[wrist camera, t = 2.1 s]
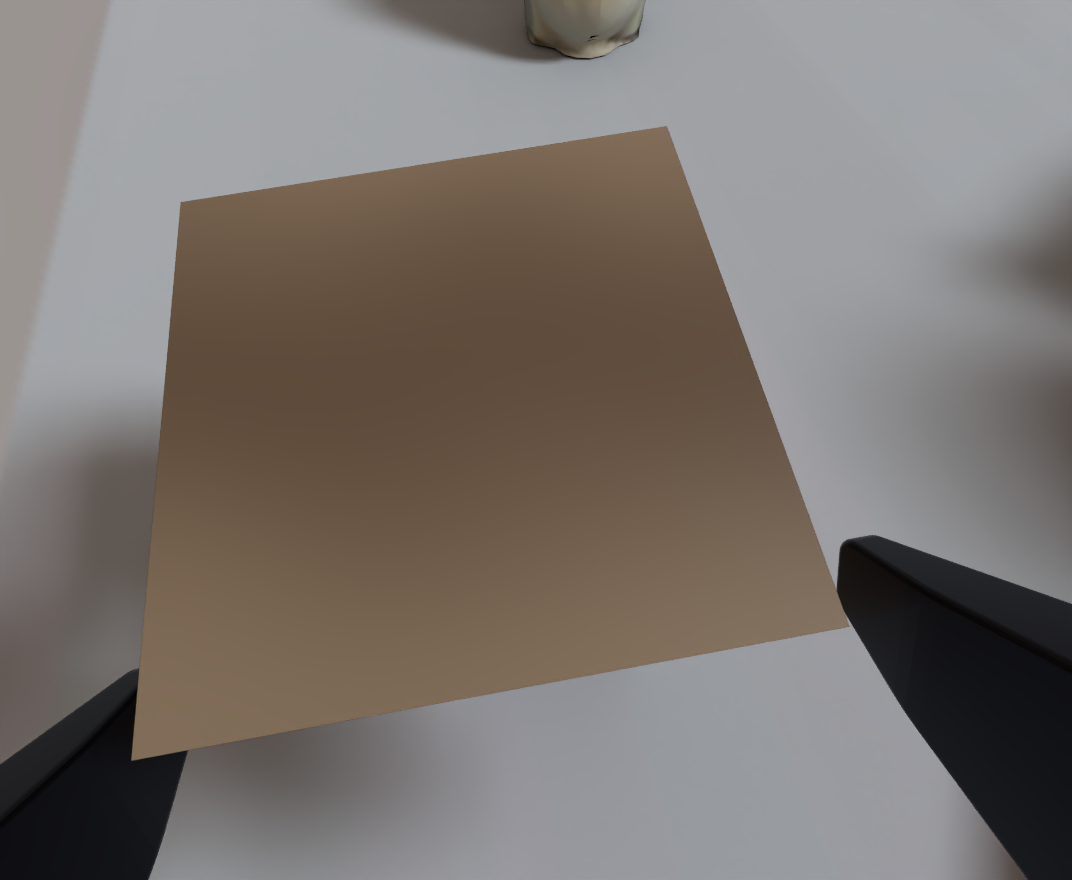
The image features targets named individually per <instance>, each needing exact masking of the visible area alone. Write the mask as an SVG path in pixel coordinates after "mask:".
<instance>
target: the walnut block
mask: <svg viewBox="0 0 1072 880" xmlns="http://www.w3.org/2000/svg"><path fill="white" fill-rule="evenodd" d="M846 627H849V624H848V621H847V618H846V616H845V613H844V610H843V607H842V605H841V602H840V599H839V596H838V594H837V591H836V588H835V585H834V583H833V580H832V577H831V574H830V572H829V569H828V566H827V564H826V561H825V558H824V555H823V553H822V550H821V547H820V544H819V542H818V539H817V536H816V533H815V531H814V528H813V525H812V522H811V520H810V517H809V514H808V511H807V509H806V506H805V503H804V501H803V498H802V495H801V492H800V490H799V487H798V484H797V481H796V479H795V476H794V473H793V470H792V468H791V465H790V462H789V459H788V457H787V454H786V451H785V448H784V446H783V443H782V440H781V438H780V435H779V432H778V429H777V427H776V424H775V421H774V418H773V416H772V413H771V410H770V407H769V405H768V402H767V399H766V396H765V394H764V391H763V388H762V385H761V383H760V380H759V377H758V375H757V372H756V369H755V366H754V364H753V361H752V358H751V355H750V353H749V350H748V347H747V344H746V342H745V339H744V336H743V333H742V331H741V328H740V325H739V322H738V320H737V317H736V314H735V311H734V309H733V306H732V303H731V301H730V298H729V295H728V292H727V290H726V287H725V284H724V281H723V279H722V276H721V273H720V270H719V268H718V265H717V262H716V259H715V257H714V254H713V251H712V248H711V246H710V243H709V240H708V238H707V235H706V232H705V229H704V227H703V224H702V221H701V218H700V216H699V213H698V210H697V207H696V205H695V202H694V199H693V196H692V194H691V191H690V188H689V185H688V183H687V180H686V177H685V175H684V172H683V169H682V166H681V164H680V161H679V158H678V155H677V153H676V150H675V147H674V144H673V142H672V139H671V136H670V133H669V131H668V128H667V126H665V127H659V128H652V129H646V130H640V131H633V132H627V133H620V134H614V135H608V136H601V137H595V138H588V139H582V140H576V141H569V142H563V143H556V144H550V145H544V146H537V147H531V148H525V149H518V150H512V151H505V152H499V153H493V154H486V155H480V156H473V157H467V158H461V159H454V160H448V161H441V162H435V163H429V164H422V165H416V166H410V167H403V168H397V169H390V170H384V171H378V172H371V173H365V174H358V175H352V176H346V177H339V178H333V179H327V180H320V181H314V182H307V183H301V184H295V185H288V186H282V187H275V188H269V189H263V190H256V191H250V192H243V193H237V194H231V195H224V196H218V197H212V198H205V199H199V200H192V201H186V202H181V205H180V217H179V228H178V239H177V250H176V262H175V273H174V284H173V296H172V307H171V318H170V330H169V341H168V352H167V364H166V375H165V386H164V397H163V409H162V420H161V431H160V443H159V454H158V465H157V477H156V488H155V499H154V511H153V522H152V533H151V544H150V556H149V567H148V578H147V590H146V601H145V612H144V624H143V635H142V646H141V657H140V669H139V680H138V691H137V703H136V714H135V725H134V737H133V748H132V759H131V761H133V760H138V759H143V758H149V757H154V756H159V755H165V754H170V753H175V752H181V751H186V750H191V749H197V748H202V747H208V746H213V745H218V744H224V743H229V742H234V741H240V740H245V739H250V738H256V737H261V736H267V735H272V734H277V733H283V732H288V731H293V730H299V729H304V728H309V727H315V726H320V725H326V724H331V723H336V722H342V721H347V720H352V719H358V718H363V717H368V716H374V715H379V714H384V713H390V712H395V711H401V710H406V709H411V708H417V707H422V706H427V705H433V704H438V703H443V702H449V701H454V700H460V699H465V698H470V697H476V696H481V695H486V694H492V693H497V692H502V691H508V690H513V689H518V688H524V687H529V686H535V685H540V684H545V683H551V682H556V681H561V680H567V679H572V678H577V677H583V676H588V675H594V674H599V673H604V672H610V671H615V670H620V669H626V668H631V667H636V666H642V665H647V664H653V663H658V662H663V661H669V660H674V659H679V658H685V657H690V656H695V655H701V654H706V653H712V652H717V651H722V650H728V649H733V648H738V647H744V646H749V645H754V644H760V643H765V642H770V641H776V640H781V639H787V638H792V637H797V636H803V635H808V634H813V633H819V632H824V631H829V630H835V629H840V628H846Z"/></svg>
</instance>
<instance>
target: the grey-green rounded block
mask: <svg viewBox="0 0 1072 880" xmlns="http://www.w3.org/2000/svg"><path fill="white" fill-rule="evenodd" d="M645 1H646V0H524V4H525V20H526V28H527V35H528V37H529V39H530V41H531V42H532V43H534V44H537V45H541V46H548V47H553V48H555V49H557V50H558V51H560V52H562V53H563V54H565V55H569V56H573V57H577V58H593V57H598V56H602V55H606V54H608V53H609V52H611V51H612V50H613V49H615V48H616V47H618V46H620V45H624V44H627V43H629V42H632V41H634V40H635V39H636V38H638V36H639V34H638V33H639V28H640V25H641V22H642V18H643V10H644V5H645ZM591 36H597V37H593V38H590V37H591ZM589 38H590V39H589ZM592 39H595V40H592ZM588 40H590V41H588ZM586 41H587V42H586Z"/></svg>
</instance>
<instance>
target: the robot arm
mask: <svg viewBox="0 0 1072 880" xmlns="http://www.w3.org/2000/svg"><path fill="white" fill-rule="evenodd" d="M837 594H838V596H839V599H840V602H841V605H842V607H843V610H844V612H845V614H846V616H847V617H848V619H849V621H850V622H851V624H852V626H853V627H854V629H855V631H856V632H857V634H858V636H859V637H860V639H861V641H862V642H863V644H864V646H865V647H866V649H867V651H868V652H869V654H870V656H871V657H872V659H873V661H874V663H875V664H876V666H877V668H878V669H879V671H880V673H881V674H882V676H883V678H884V679H885V681H886V683H887V684H888V686H889V688H890V689H891V691H892V693H893V694H894V696H895V697H896V699H897V701H898V702H899V704H900V705H901V707H902V708H903V710H904V711H905V713H906V714H907V716H908V717H909V719H910V720H911V721H912V723H913V724H914V726H915V727H916V728H917V730H918V731H919V733H920V734H921V735H922V737H923V738H924V739H925V741H926V742H927V743H928V745H929V746H930V748H931V749H932V750H933V752H934V753H935V754H936V756H937V757H938V758H939V760H940V761H941V762H942V764H943V765H944V767H945V768H946V769H947V771H948V772H949V773H950V775H951V776H952V777H953V779H954V780H955V781H956V783H957V784H958V786H959V787H960V788H961V790H962V791H963V792H964V794H965V795H966V796H967V798H968V799H969V800H970V802H971V803H972V805H973V806H974V807H975V809H976V810H977V811H978V813H979V814H980V815H981V817H982V818H983V820H984V821H985V822H986V824H987V825H988V826H989V828H990V829H991V830H992V832H993V833H994V834H995V836H996V837H997V839H998V840H999V841H1000V843H1001V844H1002V845H1003V847H1004V848H1005V849H1006V851H1007V852H1008V853H1009V855H1010V856H1011V858H1012V859H1013V860H1014V862H1015V863H1016V864H1017V866H1018V867H1019V868H1020V870H1021V871H1022V872H1023V874H1024V875H1025V877H1026V878H1027V879H1028V880H1072V604H1071V603H1068V602H1065V601H1062V600H1059V599H1056V598H1053V597H1051V596H1048V595H1045V594H1042V593H1039V592H1036V591H1033V590H1031V589H1028V588H1025V587H1022V586H1019V585H1016V584H1014V583H1011V582H1008V581H1005V580H1002V579H999V578H996V577H994V576H991V575H988V574H985V573H982V572H979V571H976V570H974V569H971V568H968V567H965V566H962V565H959V564H957V563H954V562H951V561H948V560H945V559H942V558H939V557H937V556H934V555H931V554H928V553H925V552H922V551H920V550H917V549H914V548H911V547H908V546H905V545H902V544H900V543H897V542H894V541H891V540H888V539H885V538H883V537H880V536H876V535H869V536H863V537H858V538H853V539H848V540H846V541H844V542H843V543H842V545H841V547H840V553H839V565H838V578H837ZM139 669H140V668H138V669H134V670H132V671H130V672H128V673H126V674H125V675H124V676H122V677H121V678H119V679H118V680H117V681H115V682H114V683H112V684H111V685H110V686H108V687H107V688H106V689H104V690H103V691H101V692H100V693H99V694H97V695H96V696H94V697H93V698H92V699H90V700H89V701H88V702H86V703H85V704H83V705H82V706H81V707H79V708H78V709H76V710H75V711H74V712H72V713H71V714H69V715H68V716H67V717H65V718H64V719H63V720H61V721H60V722H58V723H57V724H56V725H54V726H53V727H51V728H50V729H49V730H47V731H46V732H45V733H43V734H42V735H40V736H39V737H38V738H36V739H35V740H33V741H32V742H31V743H29V744H28V745H26V746H25V747H24V748H22V749H21V750H20V751H18V752H17V753H15V754H14V755H13V756H11V757H10V758H8V759H7V760H6V761H4V762H3V763H2V764H0V880H149V877H150V874H151V871H152V869H153V866H154V863H155V860H156V858H157V855H158V852H159V848H160V845H161V842H162V839H163V836H164V833H165V829H166V826H167V822H168V819H169V815H170V812H171V808H172V805H173V801H174V798H175V794H176V791H177V787H178V784H179V780H180V777H181V773H182V770H183V766H184V763H185V759H186V756H187V752H188V750H186V751H181V752H175V753H170V754H165V755H159V756H154V757H149V758H143V759H138V760H133V761H131V759H132V748H133V737H134V725H135V714H136V703H137V691H138V680H139Z"/></svg>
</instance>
